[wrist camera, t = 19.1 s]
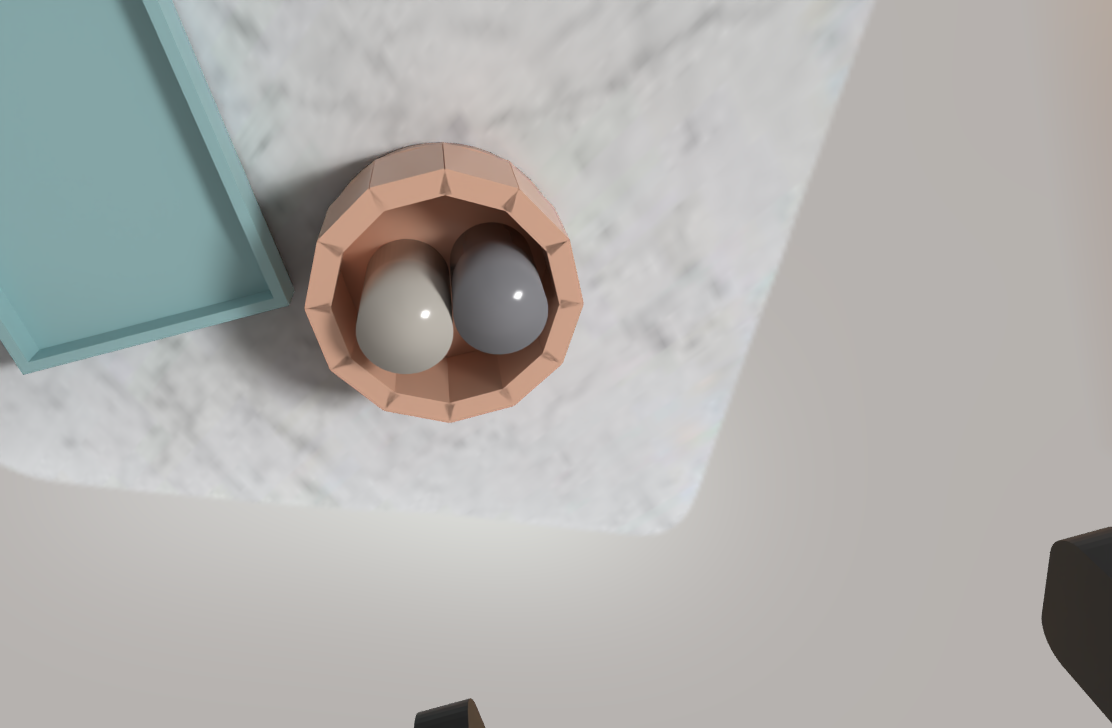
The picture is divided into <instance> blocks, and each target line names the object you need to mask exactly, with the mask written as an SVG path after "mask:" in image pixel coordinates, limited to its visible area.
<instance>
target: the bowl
mask: <svg viewBox="0 0 1112 728" xmlns="http://www.w3.org/2000/svg"><path fill="white" fill-rule="evenodd" d="M487 222H497V223H502V224H505V225H508V226H510V227H512V228H514V229H516V230H517V231H518V232H519V233H521V234H522V235H523V237H524V238H525V239H526V241H527V242H528V244H529V246H530V249H531V252H532V255H533V258H534V261H535V265H536V268H537V271H538V274H539V277H540V280H541V283H542V286H543V289H544V292H545V296H546V299H547V303H548V317H547V321H546V324H545V326H544V329H543V330H542V332H541V333H540V335H539V336H538V337H537V338H536V339H535V340H534V341H533V342H532V343H531V344H530V345H528V346H527V347H525V348H523V349H521V350H519V351H516V352H513V353H509V354H489V353H485V352H482V351H480V350H477V349H475V348H474V347H472V346H471V345H469V344H468V343H467V342H466V341H465V340H464V339H463V338H462V337H461V336H460V334H459V332H458V331H457V328H456V326H455V323H454V318H453V305H452V318H453V340H452V343H451V346H450V349H449V350H448V352H447V354H446V355H445V356H444V358H443V359H442V360H441V361H440V362H439V363H437V364H436V365H435V366H433V367H431V368H429V369H427V370H425V371H422V372H419V373H413V374H398V373H392V372H389V371H386V370H384V369H381V368H380V367H378V366H376V365H375V364H373V363H372V362H371V361H370V360H369V359H368V358H367V357H366V356H365V355H364V353H363V352H362V350H361V349H360V347H359V344H358V341H357V337H356V323H357V318H358V312H359V307H360V301H361V295H362V290H363V284H364V279H365V273H366V268H367V265H368V262H369V260H370V258H371V257H372V255H373V254H374V253H375V252H376V251H377V250H378V249H379V248H380V247H382V246H383V245H385V244H387V243H389V242H391V241H395V240H400V239H414V240H418V241H422V242H424V243H426V244H428V245H430V246H432V247H433V248H435V249H436V250H437V251H438V252H439V253H440V254H441V255H442V256H443V258H444V259H445V261H446V263H447V265H448V268H449V273H450V254H451V250H452V247H453V245H454V243H455V242H456V240H457V239H458V238H459V236H460V235H461V234H462V233H464V232H465V231H466V230H468V229H469V228H471V227H473V226H475V225H478V224H481V223H487ZM450 285H451V276H450ZM451 302H452V291H451ZM582 307H583V298H582V294H581V289H580V285H579V280H578V275H577V271H576V266H575V262H574V257H573V253H572V248H571V244H570V240H569V238H568V235H567V233H566V231H565V229H564V227H563V225H562V223H561V220H560V218H559V216H558V214H557V212H556V210H555V208H554V206H553V205H552V204H551V203H550V202H549V201H548V200H547V199H546V198H545V197H544V196H543V195H542V193H541V192H540V191H539V189H538V188H537V187H536V186H535V185H534V183H533V182H532V181H531V180H530V179H529V178H528V177H527V176H526V175H525V174H523V173H522V172H521V171H520V170H519V169H518V168H516V167H515V166H514V165H513V164H512V163H511V162H510V161H508V160H505V159H502V158H500V157H498V156H497V155H495V154H493V153H491V152H488V151H485V150H482V149H479V148H476V147H472V146H468V145H463V144H457V143H444V142H439V143H424V144H419V145H413V146H408V147H405V148H402V149H399V150H396V151H393V152H391V153H389V154H387V155H385V156H383V157H381V158H379V159H375V160H374V161H373V162H372V163H371V164H370V165H368V166H367V167H365V168H364V169H363V170H362V171H361V172H360V173H359V174H357V175H356V176H355V177H354V178H353V179H352V180H351V181H350V183H349V184H348V185H347V186H346V187H345V189H344V190H343V191H342V193H341V194H340V196H339V197H338V198H337V199H336V200H335V201H334V202H333V203H332V204H331V205H330V206H329V208H328V210H327V213H326V216H325V219H324V222H323V225H322V228H321V231H320V234H319V237H318V240H317V243H316V249H315V254H314V259H313V265H312V270H311V275H310V281H309V286H308V291H307V297H306V302H305V307H304V308H305V312H306V314H307V317H308V319H309V321H310V324H311V326H312V328H313V331H314V333H315V336H316V338H317V340H318V343H319V345H320V347H321V350H322V352H323V354H324V357H325V359H326V362H327V364H328V366H329V369H330V370H331V371H332V372H333V373H334V374H336V375H337V376H338V377H340V378H341V379H342V380H344V381H345V382H346V383H348V384H349V385H350V386H352V387H353V388H354V389H356V390H357V391H358V392H360V393H361V394H362V395H364V396H365V397H366V398H368V399H369V400H370V401H372V402H373V403H374V404H375V405H377V406H378V407H379V408H381V409H382V410H384V411H388V412H393V413H399V414H404V415H410V416H415V417H421V418H426V419H431V420H437V421H442V422H448V423H452V422H455V421H459V420H463V419H467V418H471V417H474V416H478V415H482V414H486V413H489V412H493V411H497V410H501V409H504V408H508V407H512V406H513V405H514V406H515V405H516V404H517V403H518V402H519V401H520V400H521V399H523V398H524V397H525V396H526V395H527V394H528V393H529V392H531V391H532V390H533V389H534V388H535V387H536V386H537V385H539V384H540V383H541V382H542V381H543V380H544V379H545V378H547V377H548V376H549V375H550V374H551V373H552V372H553V371H555V370H556V369H557V368H558V367H559V366H560V365H561V364H562V363H563V361H564V358H565V355H566V352H567V350H568V347H569V344H570V341H571V338H572V335H573V333H574V330H575V327H576V324H577V321H578V319H579V316H580V313H581V310H582Z"/></svg>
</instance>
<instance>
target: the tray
mask: <svg viewBox="0 0 1112 728" xmlns="http://www.w3.org/2000/svg"><path fill="white" fill-rule="evenodd" d="M293 293H294V288H293V286H292V283H291V281H290V278H289V276H288V274H287V271H286V269H285V267H284V264H283V262H282V260H281V257H280V255H279V252H278V250H277V248H276V245H275V243H274V241H273V238H272V236H271V234H270V231H269V229H268V226H267V224H266V222H265V219H264V217H263V215H262V212H261V210H260V208H259V205H258V203H257V200H256V198H255V196H254V193H253V191H252V189H251V186H250V184H249V182H248V179H247V177H246V174H245V172H244V170H243V167H242V165H241V163H240V160H239V158H238V156H237V153H236V151H235V148H234V146H233V144H232V141H231V139H230V137H229V134H228V132H227V130H226V127H225V125H224V122H223V120H222V118H221V115H220V113H219V111H218V108H217V106H216V104H215V101H214V99H213V96H212V94H211V92H210V89H209V87H208V85H207V82H206V80H205V78H204V75H203V73H202V70H201V68H200V66H199V63H198V61H197V59H196V56H195V54H194V52H193V49H192V47H191V44H190V42H189V40H188V37H187V35H186V33H185V30H184V28H183V26H182V23H181V21H180V18H179V16H178V14H177V11H176V9H175V7H174V4H173V2H172V0H0V340H1V342H2V343H3V345H4V346H5V348H6V349H7V351H8V352H9V354H10V356H11V357H12V359H13V360H14V362H15V363H16V365H17V366H18V368H19V369H20V371H21V372H22V374H23V375H24V374H28V373H32V372H36V371H40V370H44V369H47V368H51V367H55V366H59V365H63V364H67V363H70V362H74V361H78V360H82V359H86V358H90V357H93V356H97V355H101V354H105V353H109V352H113V351H116V350H120V349H124V348H128V347H132V346H136V345H140V344H143V343H147V342H151V341H155V340H159V339H163V338H166V337H170V336H174V335H178V334H182V333H186V332H189V331H193V330H197V329H201V328H205V327H209V326H212V325H216V324H220V323H224V322H228V321H232V320H235V319H239V318H243V317H247V316H251V315H255V314H258V313H262V312H266V311H270V310H274V309H278V308H281V307H285V306H289V304H290V302H291V299H292V296H293Z"/></svg>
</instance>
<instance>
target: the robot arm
mask: <svg viewBox="0 0 1112 728" xmlns="http://www.w3.org/2000/svg"><path fill="white" fill-rule="evenodd" d="M1042 625H1043V630H1044V634H1045V636H1046V639H1047V641H1048V644H1049V646H1050V648H1051V650H1052V651H1053V653H1054V655H1055V656H1056V658H1057V659H1058V661H1059V662H1060V663H1061V665H1062V666H1063V667H1064V668H1065V669H1066V670H1067V672H1068V673H1069V674H1070V675H1071V676H1072V677H1073V678H1074V680H1075V681H1076V682H1077V683H1078V684H1079V685H1080V687H1081V688H1082V689H1083V690H1084V691H1085V692H1086V694H1087V695H1088V696H1089V697H1090V698H1091V699H1092V701H1093V702H1094V703H1095V704H1096V705H1097V706H1098V707H1099V709H1100V710H1101V711H1102V712H1103V713H1104V714H1105V716H1106V717H1107V718H1108V719H1109V720H1110V721H1111V722H1112V527H1107V528H1103V529H1099V530H1096V531H1092V532H1088V533H1085V534H1081V535H1077V536H1074V537H1070V538H1067V539H1063V540H1059V541H1057V542H1055V543H1054V544H1053V546H1052V548H1051V551H1050V559H1049V565H1048V573H1047V580H1046V588H1045V595H1044V602H1043V610H1042ZM414 728H485V726H484V723H483V721H482V719H481V716H480V714H479V711H478V709H477V707H476V704H475V702H474V701H473V700H472V699H471V698H470V699H466V700H463V701H459V702H455V703H451V704H448V705H444V706H440V707H437V708H433V709H429V710H426V711H422V712H419V713H417V715H416V718H415V723H414Z"/></svg>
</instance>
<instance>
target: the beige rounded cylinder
mask: <svg viewBox="0 0 1112 728" xmlns="http://www.w3.org/2000/svg"><path fill="white" fill-rule="evenodd" d="M356 337H357V341H358V344H359V347H360V349H361V350H362V352H363V353H364V355H365V356H366V357H367V358H368V359H369V360H370V361H371V362H372V363H373V364H375V365H376V366H378V367H380V368H381V369H384V370H386V371H389V372H392V373H398V374H413V373H419V372H422V371H425V370H427V369H429V368H431V367H433V366H435V365H436V364H437V363H439V362H440V361H441V360H442V359H443V358H444V356H445V355H446V354H447V352H448V350H449V349H450V346H451V343H452V340H453V318H452V302H451V285H450V273H449V268H448V265H447V263H446V261H445V259H444V258H443V256H442V255H441V254H440V253H439V252H438V251H437V250H436V249H435V248H433V247H432V246H430V245H428V244H426V243H424V242H422V241H418V240H414V239H400V240H395V241H391V242H389V243H387V244H385V245H383V246H382V247H380V248H379V249H378V250H377V251H376V252H375V253H374V254H373V255H372V257H371V258H370V260H369V262H368V265H367V268H366V273H365V279H364V284H363V290H362V295H361V301H360V307H359V312H358V318H357V323H356Z"/></svg>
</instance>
